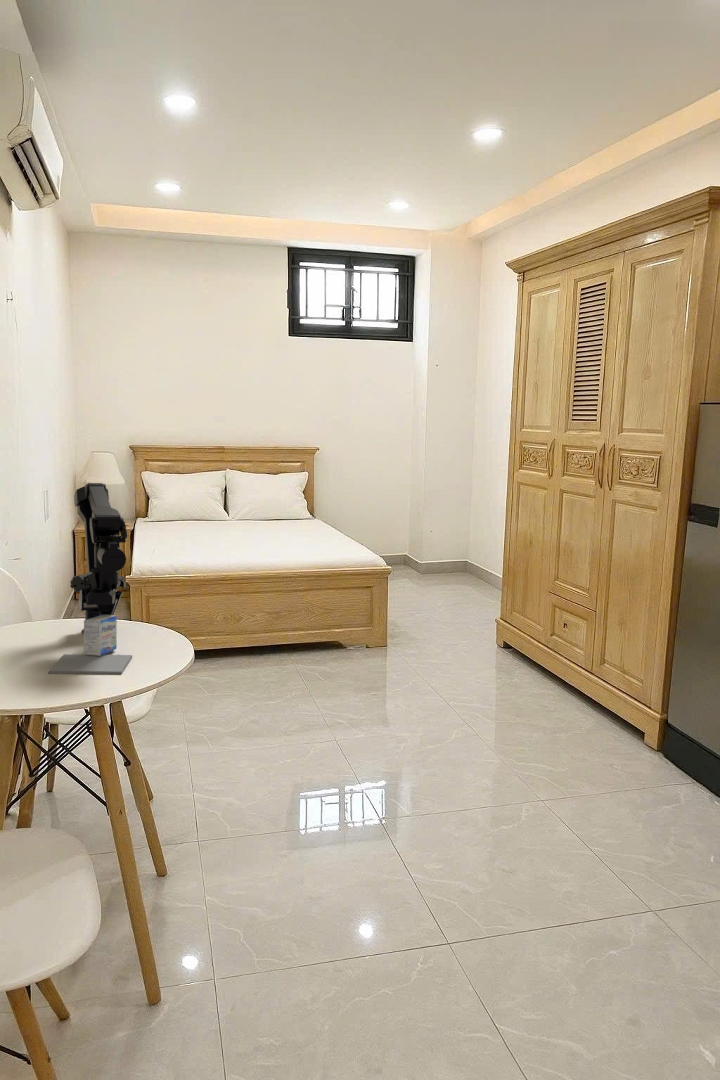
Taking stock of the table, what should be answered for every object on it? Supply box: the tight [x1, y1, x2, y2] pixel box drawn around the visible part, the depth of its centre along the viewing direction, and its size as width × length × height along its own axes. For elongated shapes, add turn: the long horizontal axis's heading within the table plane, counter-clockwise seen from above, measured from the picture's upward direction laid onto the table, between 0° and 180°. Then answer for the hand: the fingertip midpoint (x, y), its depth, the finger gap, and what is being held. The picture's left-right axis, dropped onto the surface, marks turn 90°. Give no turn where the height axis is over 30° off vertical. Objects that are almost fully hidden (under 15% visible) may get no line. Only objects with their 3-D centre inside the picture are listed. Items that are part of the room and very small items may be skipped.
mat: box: [47, 653, 133, 675], centre depth 183 cm, size 13×16×1 cm
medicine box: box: [83, 615, 118, 656], centre depth 191 cm, size 8×4×9 cm, turn 168°
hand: (107, 622), depth 199 cm, fingers open, 3 cm apart
